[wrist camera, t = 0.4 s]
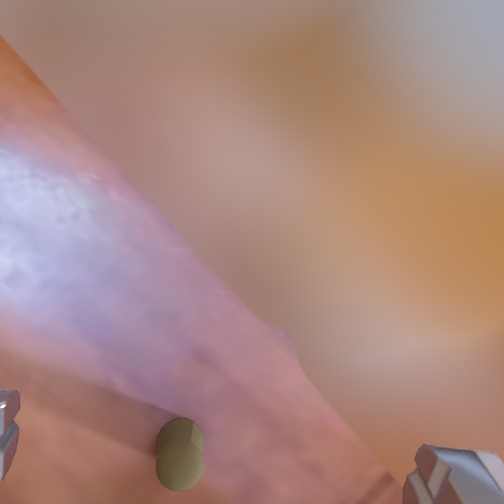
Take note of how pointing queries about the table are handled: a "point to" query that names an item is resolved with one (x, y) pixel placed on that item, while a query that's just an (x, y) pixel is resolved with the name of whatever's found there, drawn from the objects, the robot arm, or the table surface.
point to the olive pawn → (180, 454)
